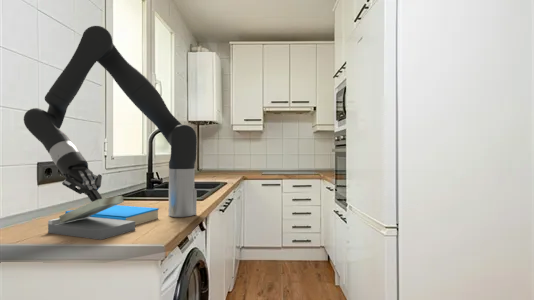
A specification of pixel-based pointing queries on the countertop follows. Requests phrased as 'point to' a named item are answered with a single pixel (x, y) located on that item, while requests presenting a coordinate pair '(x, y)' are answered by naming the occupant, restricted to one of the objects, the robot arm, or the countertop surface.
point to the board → (91, 227)
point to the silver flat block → (91, 208)
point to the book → (128, 213)
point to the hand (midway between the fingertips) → (98, 201)
